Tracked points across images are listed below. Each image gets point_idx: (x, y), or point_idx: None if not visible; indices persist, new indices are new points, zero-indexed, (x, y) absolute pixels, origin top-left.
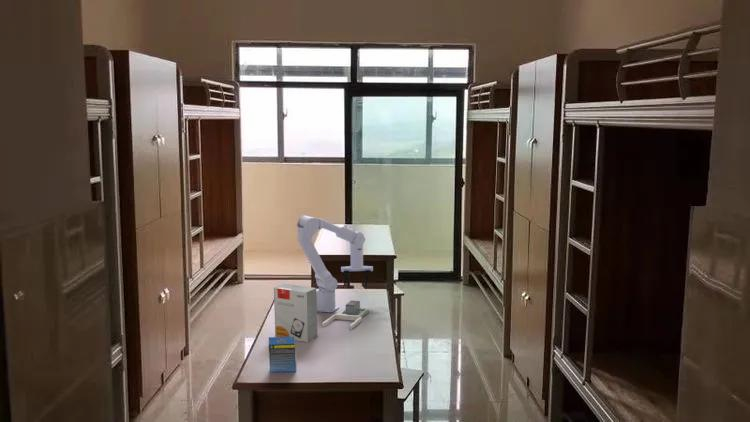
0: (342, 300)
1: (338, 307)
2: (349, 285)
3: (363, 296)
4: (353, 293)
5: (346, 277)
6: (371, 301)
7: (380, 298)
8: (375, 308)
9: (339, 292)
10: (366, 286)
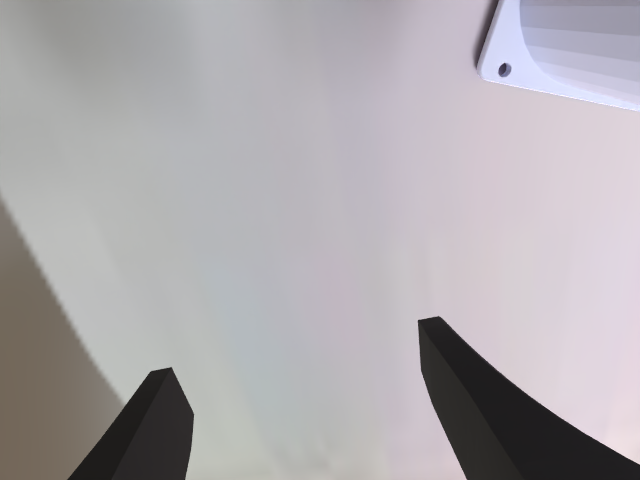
0: None
1: (482, 59)
2: (430, 335)
3: (293, 429)
4: (378, 470)
5: (580, 448)
6: (188, 331)
7: None
8: (48, 109)
9: None
10: (146, 377)
